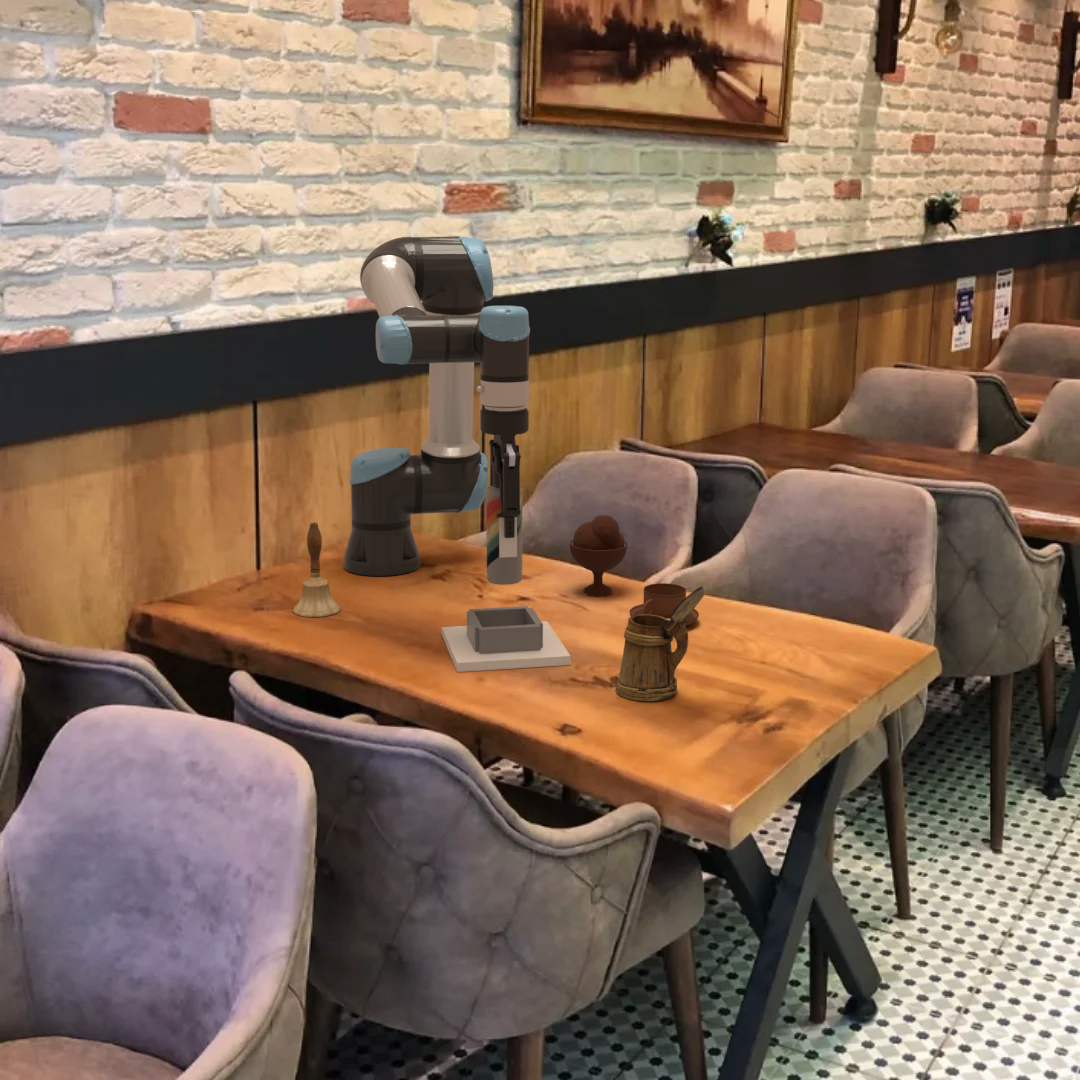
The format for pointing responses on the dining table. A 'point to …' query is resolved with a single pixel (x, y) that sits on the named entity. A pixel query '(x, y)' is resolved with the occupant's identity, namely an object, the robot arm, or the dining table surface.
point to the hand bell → (315, 583)
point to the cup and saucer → (663, 602)
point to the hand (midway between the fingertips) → (504, 551)
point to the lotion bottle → (498, 568)
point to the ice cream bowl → (598, 550)
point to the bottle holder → (504, 641)
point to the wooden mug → (654, 652)
